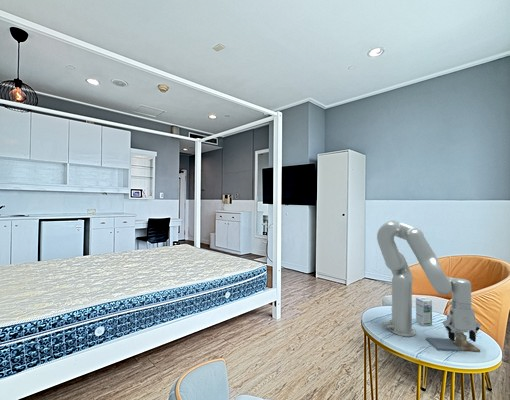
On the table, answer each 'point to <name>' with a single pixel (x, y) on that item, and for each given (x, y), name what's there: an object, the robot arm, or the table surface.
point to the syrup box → (424, 311)
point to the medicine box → (456, 329)
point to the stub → (464, 342)
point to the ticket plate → (443, 344)
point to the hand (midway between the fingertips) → (462, 340)
